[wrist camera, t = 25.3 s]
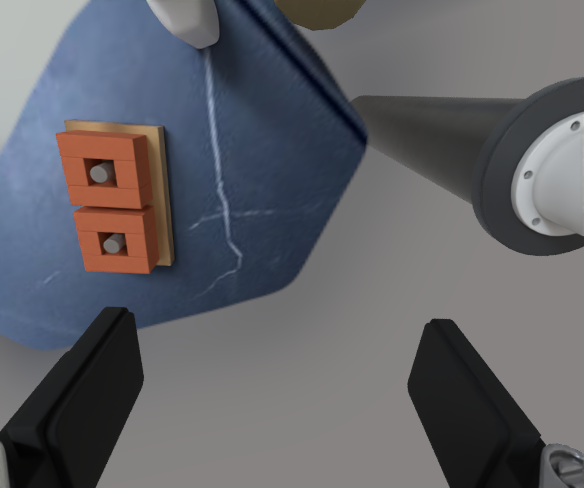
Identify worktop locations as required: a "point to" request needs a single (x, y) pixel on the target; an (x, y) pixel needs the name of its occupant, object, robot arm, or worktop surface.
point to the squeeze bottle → (319, 12)
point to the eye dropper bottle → (189, 20)
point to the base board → (156, 173)
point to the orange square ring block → (108, 220)
